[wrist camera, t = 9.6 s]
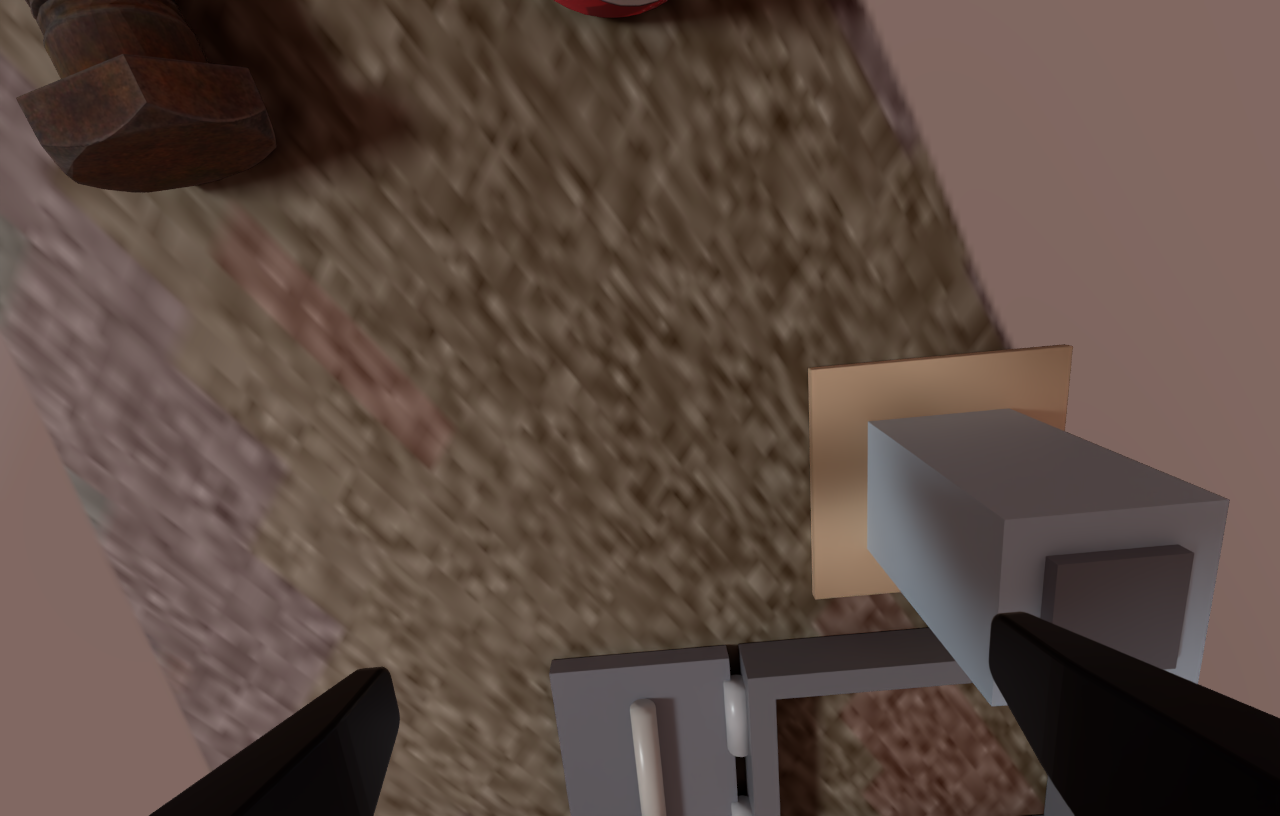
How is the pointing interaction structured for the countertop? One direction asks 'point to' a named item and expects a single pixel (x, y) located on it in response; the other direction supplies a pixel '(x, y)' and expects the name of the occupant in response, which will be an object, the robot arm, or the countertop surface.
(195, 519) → the countertop surface
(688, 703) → the case
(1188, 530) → the block
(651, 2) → the soda can
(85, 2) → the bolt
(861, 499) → the pad
